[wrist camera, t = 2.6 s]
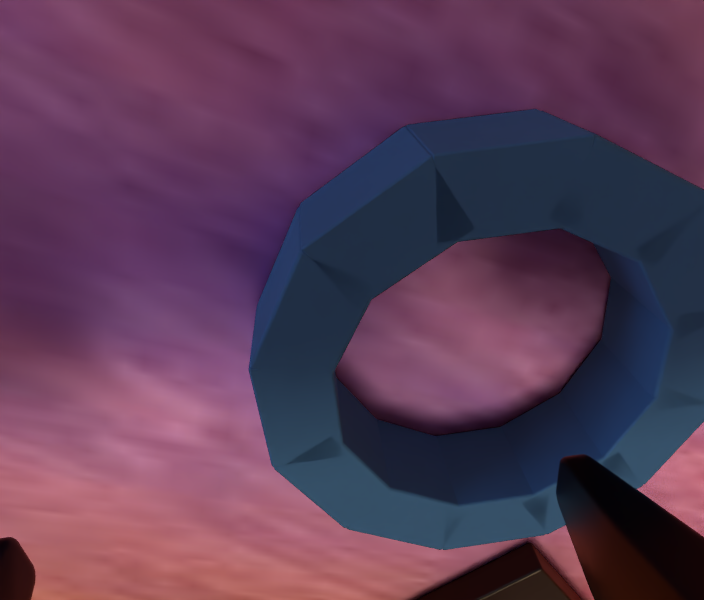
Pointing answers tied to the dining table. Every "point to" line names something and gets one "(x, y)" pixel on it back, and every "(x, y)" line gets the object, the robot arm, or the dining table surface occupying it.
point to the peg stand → (509, 580)
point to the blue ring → (426, 243)
